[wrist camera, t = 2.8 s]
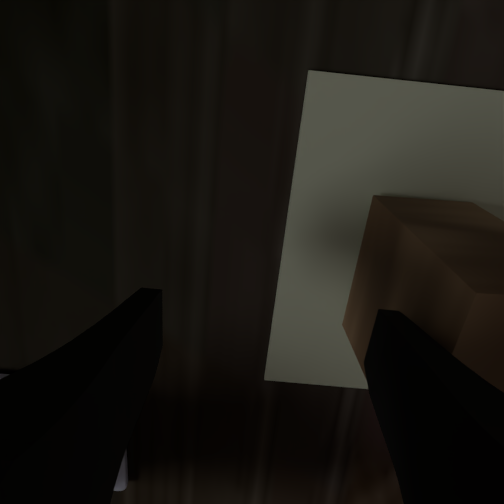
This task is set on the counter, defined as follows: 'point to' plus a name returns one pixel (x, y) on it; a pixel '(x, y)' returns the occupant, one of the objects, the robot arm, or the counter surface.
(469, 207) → the walnut block
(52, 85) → the counter surface
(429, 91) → the cream board
